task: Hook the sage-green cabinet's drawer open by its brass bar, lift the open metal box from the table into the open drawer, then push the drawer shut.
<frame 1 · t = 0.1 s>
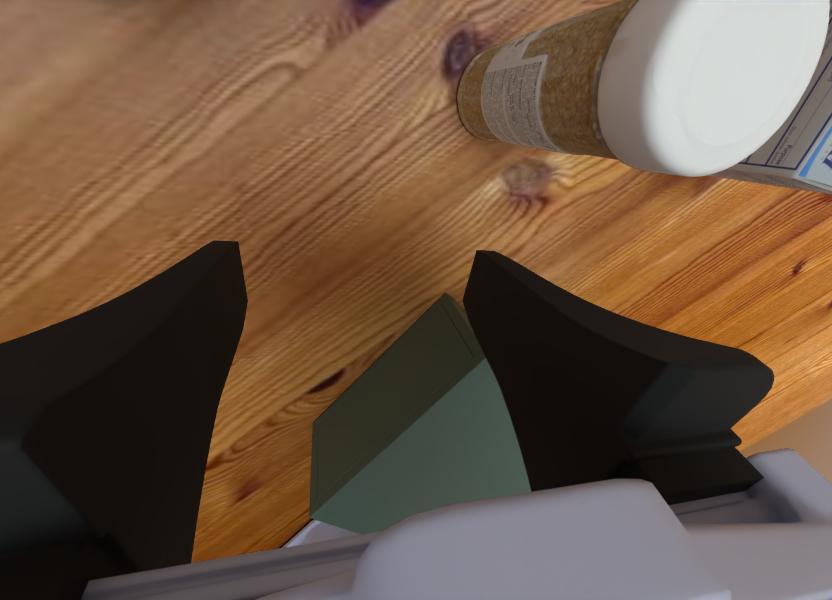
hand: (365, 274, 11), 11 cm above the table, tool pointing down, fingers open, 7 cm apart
medicine box: (699, 101, 22), on the table
cabinet: (439, 402, 29), on the table
sprinkles bottle: (491, 97, 19), on the table
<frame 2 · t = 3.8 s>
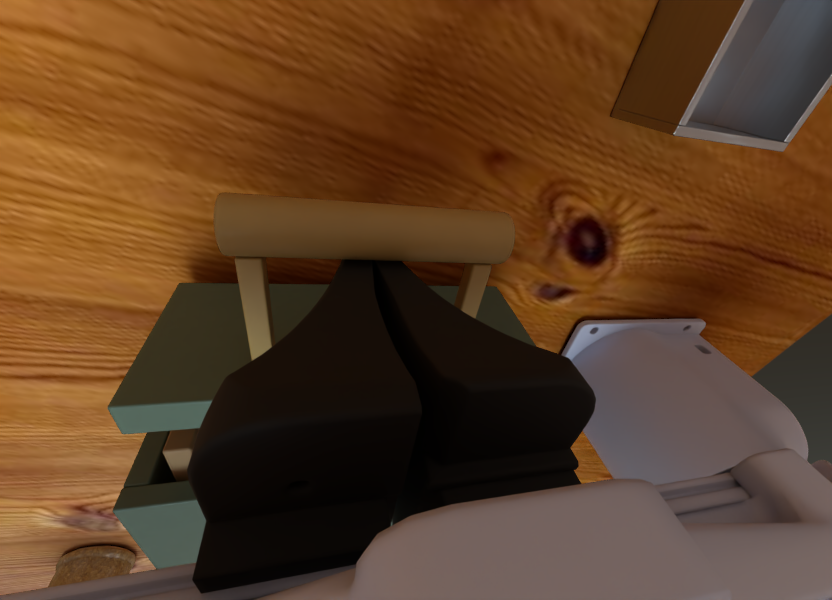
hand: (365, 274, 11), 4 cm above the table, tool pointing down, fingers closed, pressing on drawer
cabinet: (345, 420, 22), on the table
sprinkles bottle: (102, 553, 26), on the table
open metal box: (703, 40, 13), on the table
drawer: (354, 399, 15), point 4 cm above the table, slide at 2.4 cm, touching gripper
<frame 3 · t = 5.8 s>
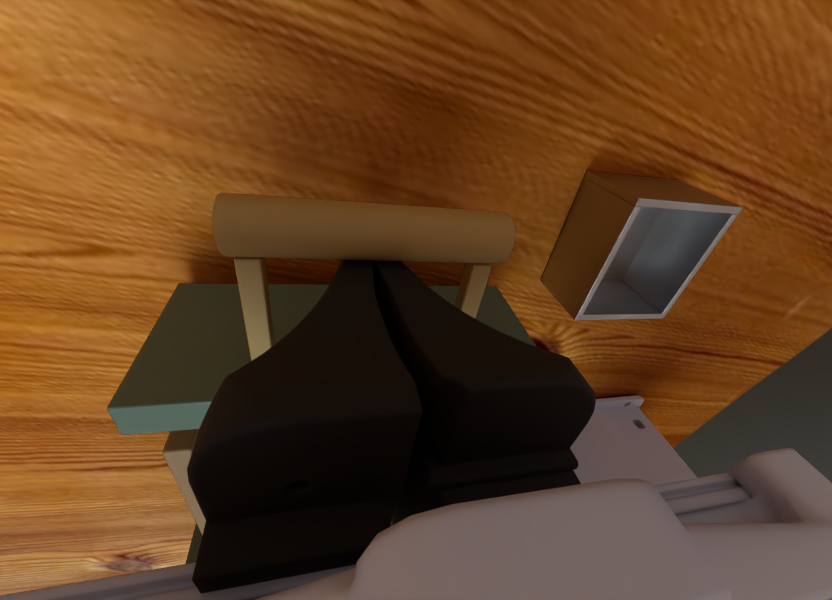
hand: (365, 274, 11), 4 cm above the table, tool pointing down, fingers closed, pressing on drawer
cabinet: (342, 482, 26), on the table
open metal box: (605, 233, 17), on the table
drawer: (355, 399, 15), point 4 cm above the table, slide at 10.0 cm, touching gripper
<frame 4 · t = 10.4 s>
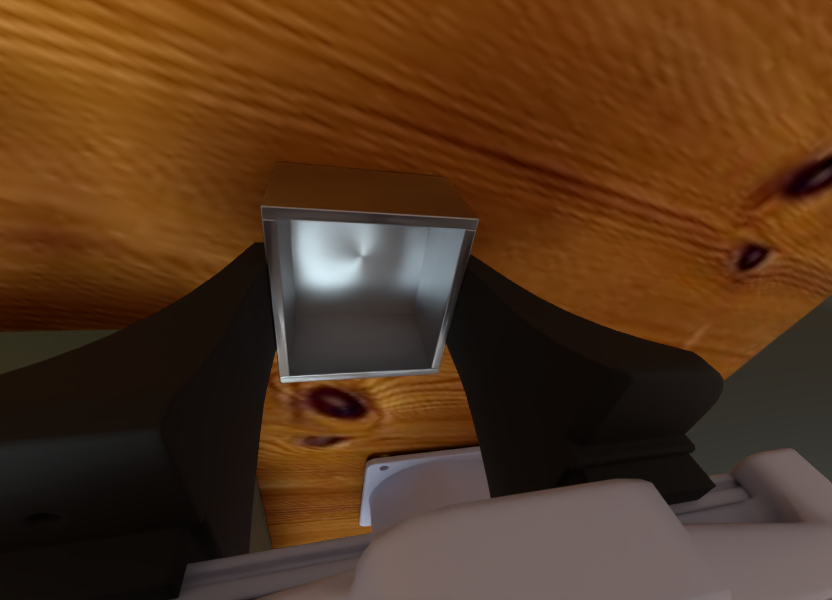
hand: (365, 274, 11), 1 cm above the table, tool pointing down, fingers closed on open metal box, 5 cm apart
cabinet: (141, 552, 21), on the table
open metal box: (360, 252, 12), on the table, touching gripper
when the fingers open (3 cm above the table, at t = 16.2 s): open metal box stays where it is, resting on drawer.
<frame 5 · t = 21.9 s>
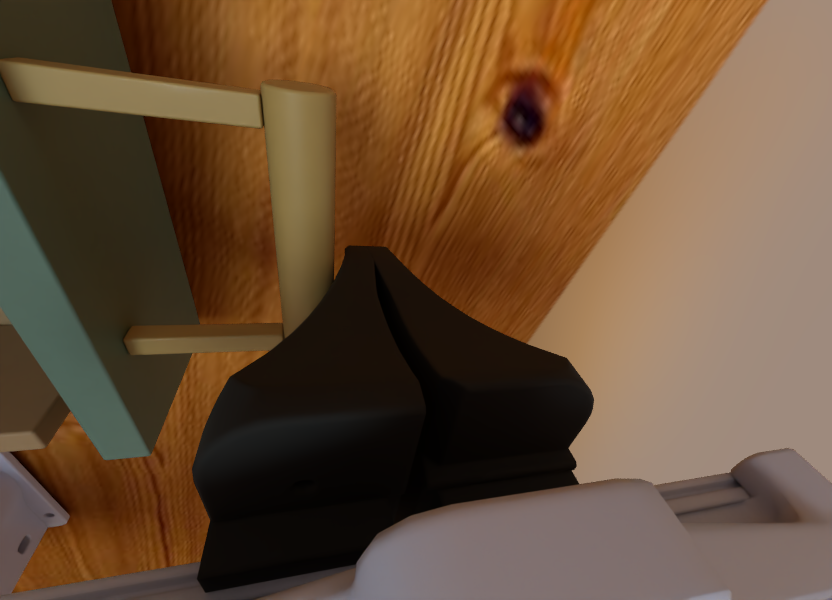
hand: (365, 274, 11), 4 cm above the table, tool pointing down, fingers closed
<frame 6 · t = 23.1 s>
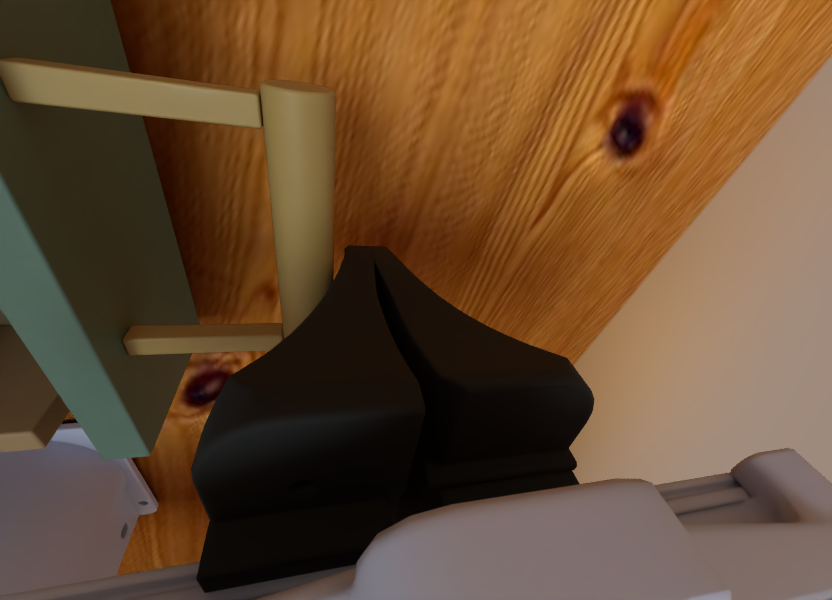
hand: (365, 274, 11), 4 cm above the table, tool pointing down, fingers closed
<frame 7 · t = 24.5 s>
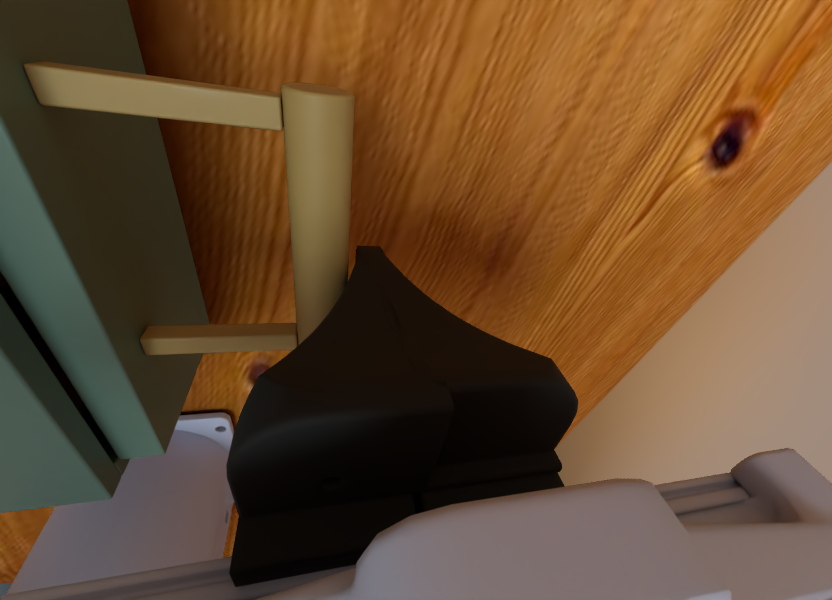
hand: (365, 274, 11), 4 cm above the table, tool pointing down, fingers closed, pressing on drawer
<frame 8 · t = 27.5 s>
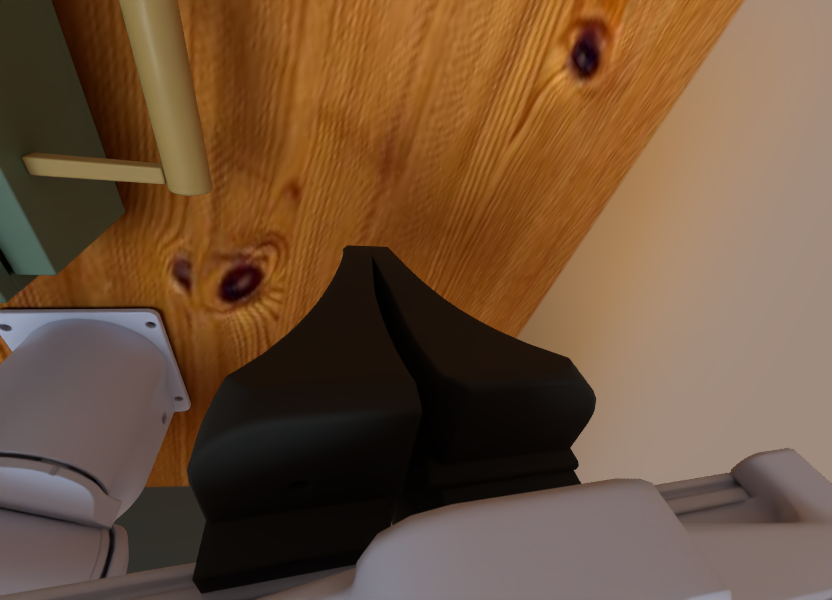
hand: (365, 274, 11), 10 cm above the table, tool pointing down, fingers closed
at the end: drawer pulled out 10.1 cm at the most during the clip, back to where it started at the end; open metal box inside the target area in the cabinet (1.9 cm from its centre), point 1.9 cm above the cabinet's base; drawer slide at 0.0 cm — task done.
